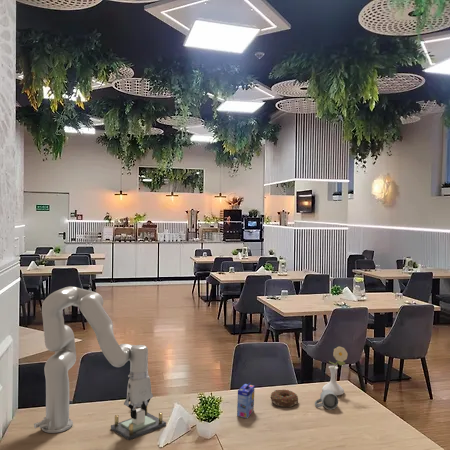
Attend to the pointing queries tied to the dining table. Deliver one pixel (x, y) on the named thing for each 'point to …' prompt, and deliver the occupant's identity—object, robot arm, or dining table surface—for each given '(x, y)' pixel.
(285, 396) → the donut
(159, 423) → the chassis plate
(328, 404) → the ceramic mug
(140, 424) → the sage board
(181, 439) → the dining table surface
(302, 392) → the dining table surface
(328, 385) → the flower in vase
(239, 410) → the ink cartridge box
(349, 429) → the dining table surface
